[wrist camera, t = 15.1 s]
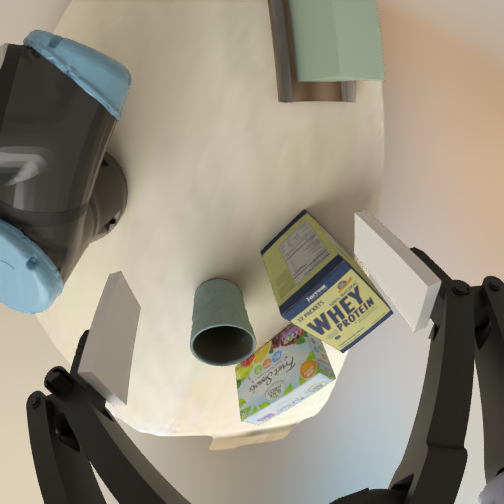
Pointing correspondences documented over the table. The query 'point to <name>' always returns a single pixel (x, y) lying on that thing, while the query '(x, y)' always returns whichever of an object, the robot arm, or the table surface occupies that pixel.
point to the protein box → (322, 285)
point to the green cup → (220, 325)
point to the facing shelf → (287, 69)
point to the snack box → (281, 374)
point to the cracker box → (336, 40)
